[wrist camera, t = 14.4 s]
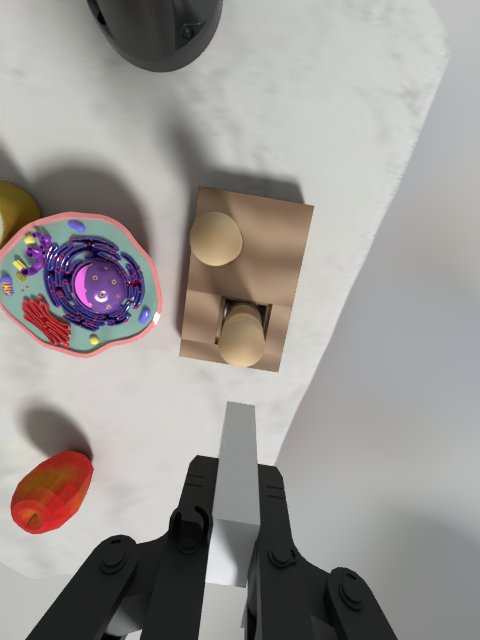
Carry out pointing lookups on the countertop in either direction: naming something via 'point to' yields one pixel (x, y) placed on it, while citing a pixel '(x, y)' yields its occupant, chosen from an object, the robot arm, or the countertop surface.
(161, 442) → the countertop surface
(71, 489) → the apple
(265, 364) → the board
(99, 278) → the cell model
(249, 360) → the peg
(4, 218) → the mug
